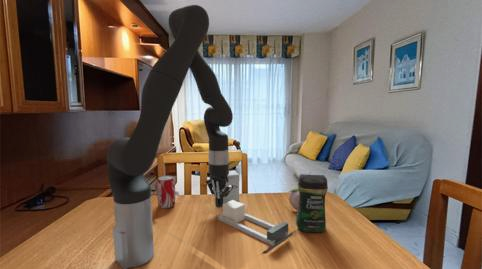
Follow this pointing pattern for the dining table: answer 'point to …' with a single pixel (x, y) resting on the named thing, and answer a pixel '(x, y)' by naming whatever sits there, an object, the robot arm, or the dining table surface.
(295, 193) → the decorative fruit
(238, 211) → the block
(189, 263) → the dining table surface
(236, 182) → the supplement box
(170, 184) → the soda can
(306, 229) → the coffee jar
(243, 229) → the grey slide rail
